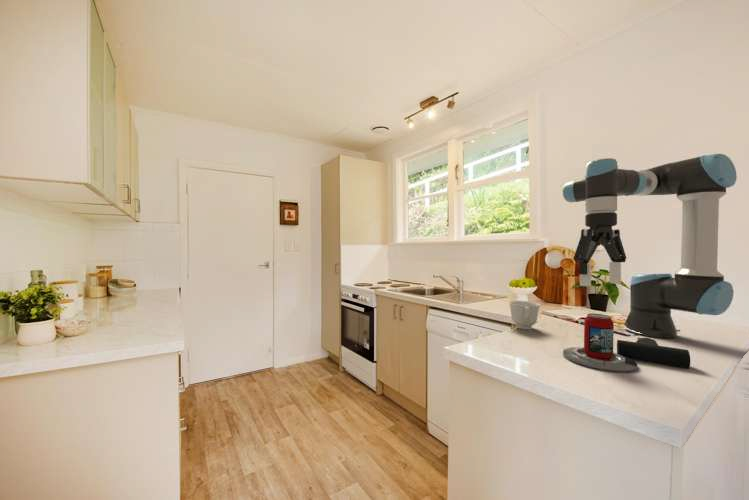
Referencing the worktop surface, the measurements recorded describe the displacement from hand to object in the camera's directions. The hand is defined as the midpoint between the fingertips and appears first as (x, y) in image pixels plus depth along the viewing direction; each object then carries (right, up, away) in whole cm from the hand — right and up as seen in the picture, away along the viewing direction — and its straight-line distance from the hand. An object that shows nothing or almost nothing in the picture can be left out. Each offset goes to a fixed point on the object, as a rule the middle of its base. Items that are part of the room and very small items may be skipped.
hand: (600, 284), depth 89 cm
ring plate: (-3, -22, -2) cm, 22 cm away
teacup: (-7, -22, +32) cm, 39 cm away
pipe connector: (+15, -22, 0) cm, 27 cm away
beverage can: (-3, -21, -2) cm, 21 cm away
